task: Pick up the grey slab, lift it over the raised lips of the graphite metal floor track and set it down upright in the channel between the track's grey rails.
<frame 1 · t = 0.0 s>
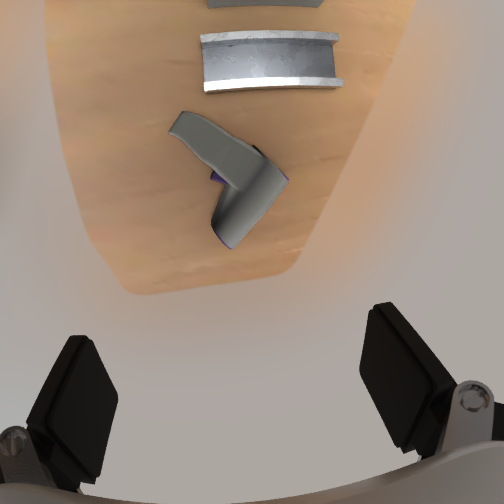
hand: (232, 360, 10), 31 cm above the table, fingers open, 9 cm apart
infrared thermometer: (213, 175, 38), on the table
track: (269, 63, 33), on the table
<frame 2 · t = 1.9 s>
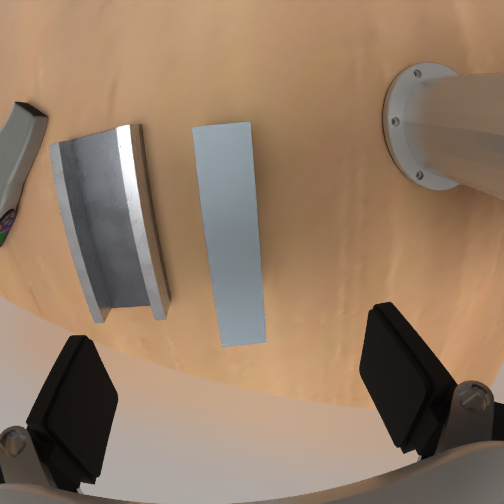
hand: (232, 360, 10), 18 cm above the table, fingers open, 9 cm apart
grey slab: (230, 208, 26), on the table
track: (117, 222, 25), on the table
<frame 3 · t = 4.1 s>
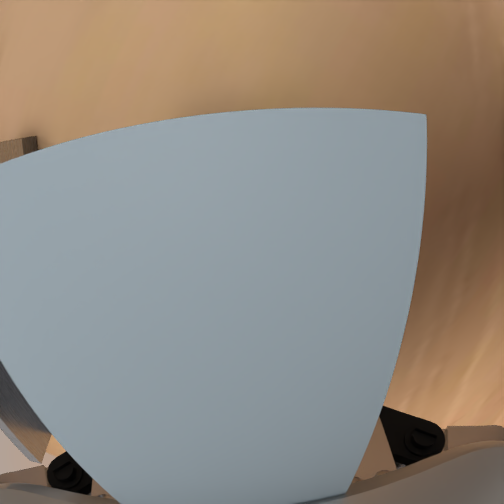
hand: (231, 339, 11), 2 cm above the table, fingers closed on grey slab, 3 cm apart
grey slab: (229, 311, 12), on the table, touching gripper
track: (26, 323, 12), on the table
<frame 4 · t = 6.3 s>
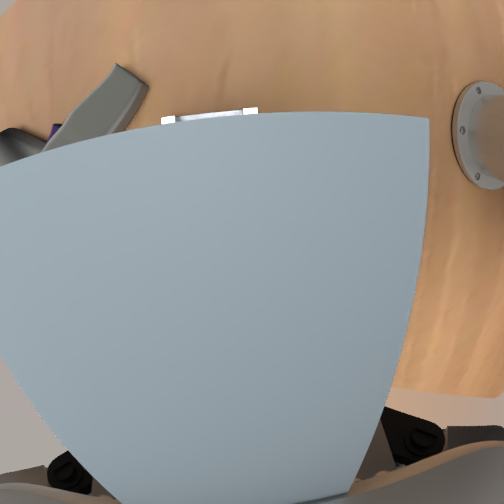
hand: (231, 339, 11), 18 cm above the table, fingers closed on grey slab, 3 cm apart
grey slab: (229, 312, 12), point 16 cm above the table, touching gripper
infrared thermometer: (66, 125, 23), on the table
track: (219, 204, 27), on the table
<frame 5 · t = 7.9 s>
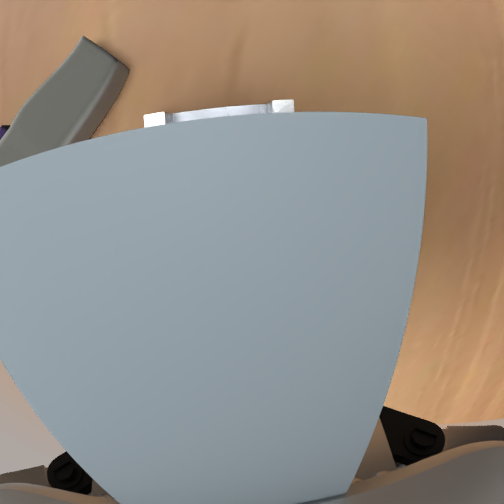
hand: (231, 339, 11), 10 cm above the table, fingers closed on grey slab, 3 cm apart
grey slab: (229, 312, 12), point 8 cm above the table, touching gripper
infrared thermometer: (22, 127, 15), on the table
track: (231, 239, 19), on the table
when the fingers open (5 cm above the table, at t = 9.0 s): grey slab drops 2 cm, resting on track.
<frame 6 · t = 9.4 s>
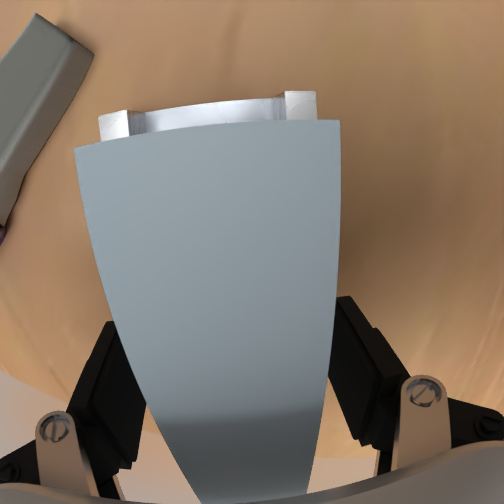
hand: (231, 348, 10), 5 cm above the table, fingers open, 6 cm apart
grey slab: (231, 288, 14), point 1 cm above the table, touching track
track: (227, 278, 15), on the table
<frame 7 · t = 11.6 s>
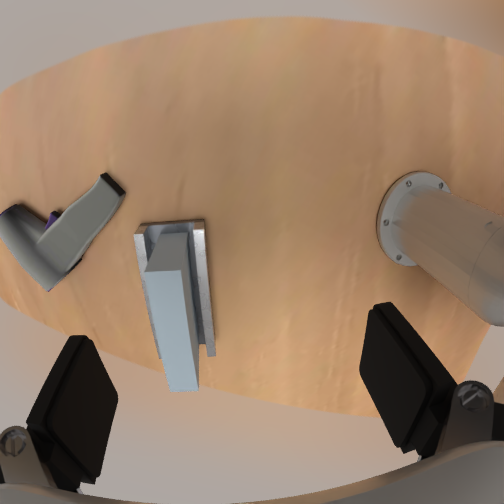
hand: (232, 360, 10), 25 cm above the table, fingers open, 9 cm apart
grey slab: (180, 291, 35), point 1 cm above the table, touching track
infrared thermometer: (60, 208, 31), on the table
track: (180, 286, 36), on the table
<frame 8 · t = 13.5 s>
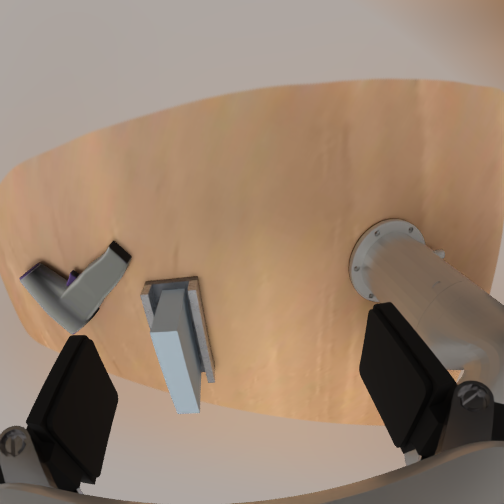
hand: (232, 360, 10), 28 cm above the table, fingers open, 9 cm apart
grey slab: (182, 332, 42), point 1 cm above the table, touching track
infrared thermometer: (77, 266, 38), on the table
track: (182, 328, 43), on the table
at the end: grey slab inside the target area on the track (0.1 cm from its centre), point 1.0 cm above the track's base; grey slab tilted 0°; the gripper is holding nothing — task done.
